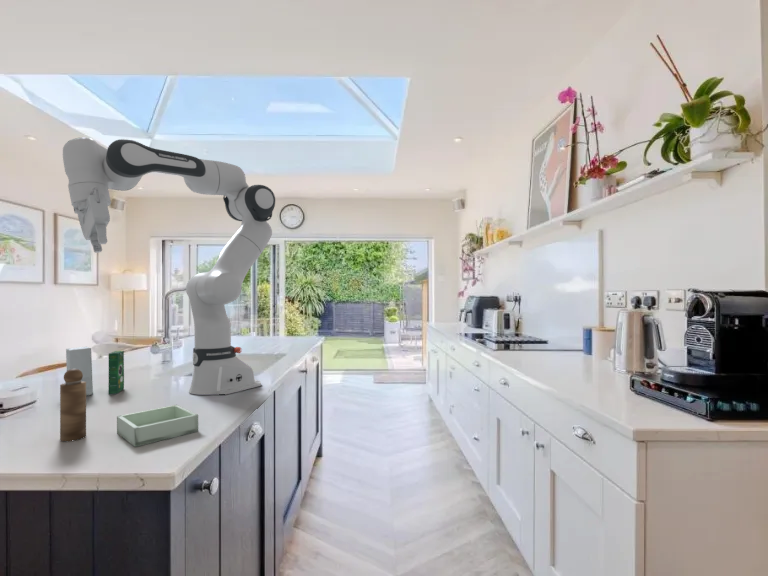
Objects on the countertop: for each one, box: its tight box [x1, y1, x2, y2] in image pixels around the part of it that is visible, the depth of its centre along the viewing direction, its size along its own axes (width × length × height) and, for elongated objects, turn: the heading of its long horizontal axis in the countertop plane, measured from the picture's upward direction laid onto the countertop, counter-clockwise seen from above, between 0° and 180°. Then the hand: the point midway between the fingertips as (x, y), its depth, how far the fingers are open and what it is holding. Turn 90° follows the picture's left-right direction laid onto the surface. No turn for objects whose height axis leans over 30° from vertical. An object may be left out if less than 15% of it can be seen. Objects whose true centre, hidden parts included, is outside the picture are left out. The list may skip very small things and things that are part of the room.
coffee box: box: [107, 350, 125, 396], centre depth 135 cm, size 8×3×13 cm, turn 20°
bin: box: [116, 404, 199, 448], centre depth 95 cm, size 13×13×4 cm
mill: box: [59, 369, 87, 442], centre depth 92 cm, size 5×5×15 cm
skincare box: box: [65, 346, 94, 396], centre depth 132 cm, size 8×6×15 cm
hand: (100, 247), depth 112 cm, fingers open, 8 cm apart
